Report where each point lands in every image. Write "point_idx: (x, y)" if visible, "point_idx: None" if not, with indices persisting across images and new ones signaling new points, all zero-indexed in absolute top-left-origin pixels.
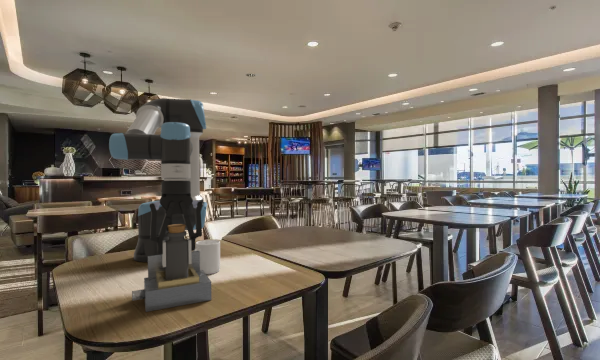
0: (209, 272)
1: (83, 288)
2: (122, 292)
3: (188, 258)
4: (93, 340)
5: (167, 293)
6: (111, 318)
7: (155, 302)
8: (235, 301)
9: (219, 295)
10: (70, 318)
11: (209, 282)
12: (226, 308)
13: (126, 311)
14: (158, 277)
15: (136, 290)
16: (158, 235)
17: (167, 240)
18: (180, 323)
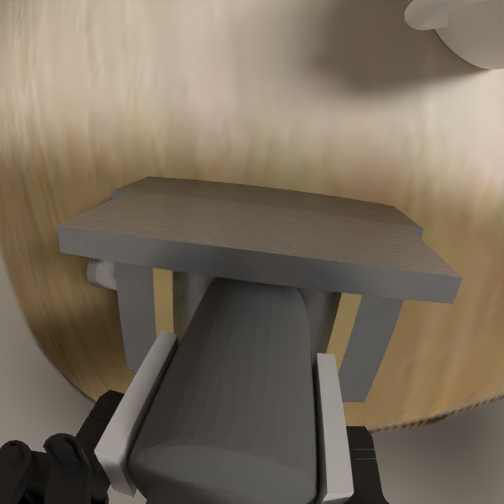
0: (471, 63)
1: (11, 12)
2: (85, 93)
3: None
4: (76, 385)
5: None
6: (77, 313)
7: None
8: (397, 392)
9: (393, 334)
10: (5, 252)
11: (357, 399)
12: (353, 416)
13: (102, 292)
14: (160, 325)
15: (99, 277)
16: (48, 483)
17: (138, 482)
18: None
